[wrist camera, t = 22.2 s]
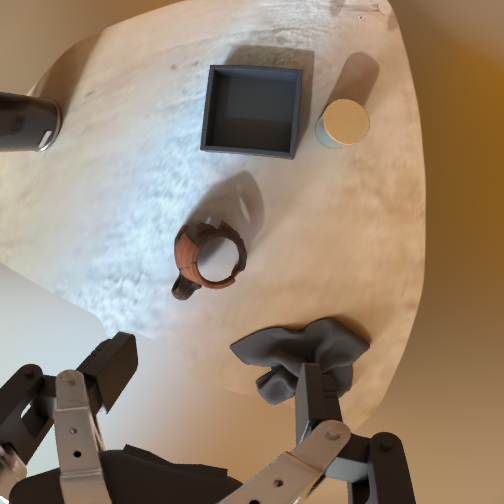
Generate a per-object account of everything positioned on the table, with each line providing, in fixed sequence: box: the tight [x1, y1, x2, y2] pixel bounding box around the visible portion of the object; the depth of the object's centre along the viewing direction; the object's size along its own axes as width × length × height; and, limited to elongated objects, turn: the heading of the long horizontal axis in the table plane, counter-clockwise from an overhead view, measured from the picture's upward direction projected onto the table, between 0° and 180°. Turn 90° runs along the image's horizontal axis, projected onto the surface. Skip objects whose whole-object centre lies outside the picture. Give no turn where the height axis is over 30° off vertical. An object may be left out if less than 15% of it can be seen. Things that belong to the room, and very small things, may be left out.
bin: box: [200, 65, 302, 160], centre depth 33 cm, size 11×11×4 cm
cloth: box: [230, 319, 370, 405], centre depth 42 cm, size 22×19×6 cm
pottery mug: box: [171, 220, 247, 300], centre depth 39 cm, size 12×10×8 cm
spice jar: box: [315, 99, 370, 149], centre depth 31 cm, size 5×5×8 cm
